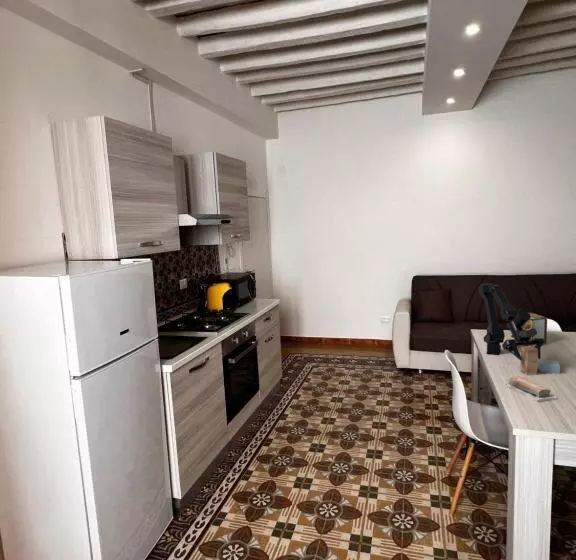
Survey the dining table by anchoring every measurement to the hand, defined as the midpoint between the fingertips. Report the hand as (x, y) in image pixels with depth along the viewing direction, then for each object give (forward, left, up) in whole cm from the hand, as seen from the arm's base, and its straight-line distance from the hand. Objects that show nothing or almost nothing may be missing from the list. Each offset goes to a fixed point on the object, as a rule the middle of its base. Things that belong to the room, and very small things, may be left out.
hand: (530, 359), depth 199 cm
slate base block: (+8, +9, -7) cm, 14 cm away
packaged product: (0, -24, -8) cm, 25 cm away
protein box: (0, +62, -7) cm, 62 cm away
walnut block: (-1, +1, -7) cm, 7 cm away
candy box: (-4, +48, -7) cm, 49 cm away
